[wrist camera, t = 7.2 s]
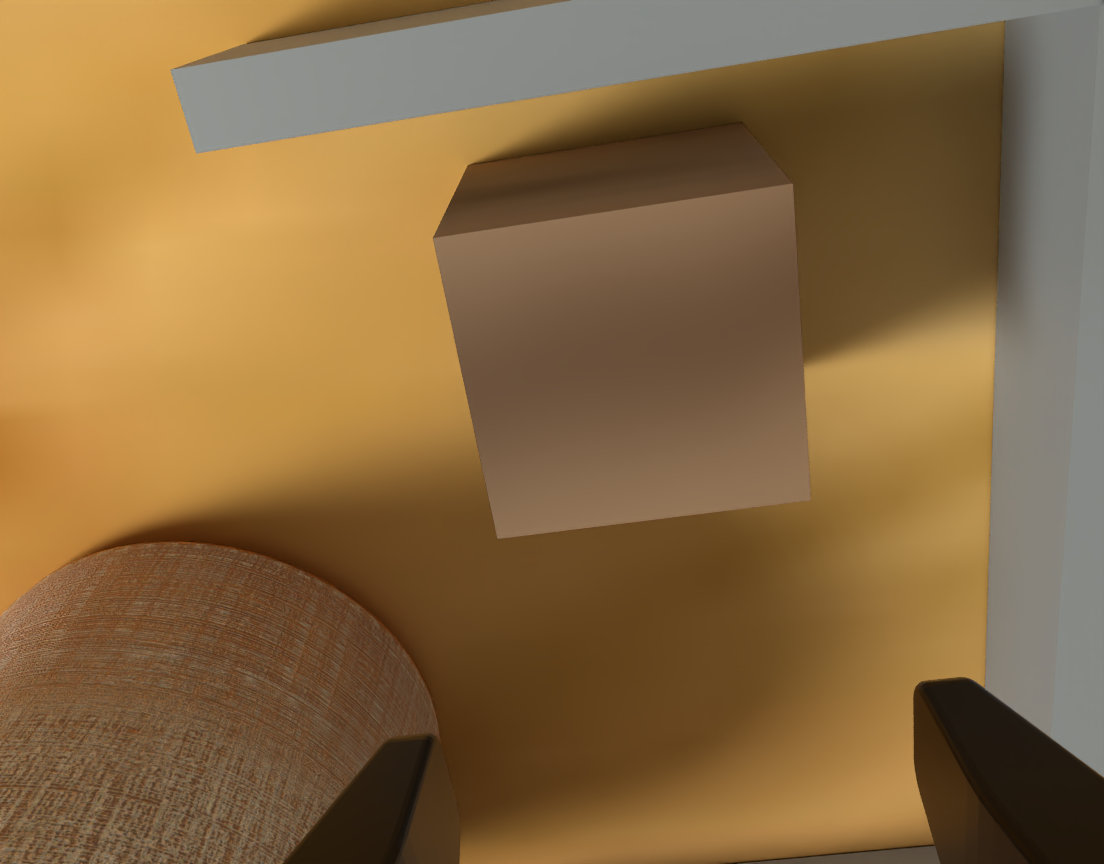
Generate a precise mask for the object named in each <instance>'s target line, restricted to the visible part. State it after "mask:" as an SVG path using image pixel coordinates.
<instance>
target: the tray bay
mask: <svg viewBox="0 0 1104 864" xmlns="http://www.w3.org/2000/svg"><path fill="white" fill-rule="evenodd" d="M999 21H1005V45H1004V78H1003V111H1002V144H1001V177H1000V210H999V243H998V276H997V309H996V343H995V376H994V409H993V442H992V475H991V508H990V541H989V574H988V607H987V640H986V673H985V689H986V690H987V691H989V692H990V693H991V694H993V695H994V696H995V697H997V698H998V699H999V700H1001V701H1002V702H1004V703H1005V704H1006V705H1008V706H1009V707H1010V708H1012V709H1013V710H1014V711H1016V712H1017V713H1018V714H1020V715H1021V716H1022V717H1024V718H1025V719H1026V720H1028V721H1029V722H1030V723H1032V724H1033V725H1034V726H1036V727H1037V728H1038V729H1040V730H1041V731H1042V732H1044V733H1045V734H1046V735H1048V736H1049V737H1050V738H1052V739H1053V740H1054V741H1056V742H1057V743H1058V744H1060V745H1061V746H1062V747H1064V748H1065V749H1067V750H1068V751H1069V752H1071V753H1072V754H1073V755H1075V756H1076V757H1077V758H1079V759H1080V760H1081V761H1083V762H1084V763H1085V764H1087V765H1088V766H1089V767H1091V768H1092V769H1093V770H1095V771H1096V772H1097V773H1099V774H1100V775H1101V776H1103V777H1104V0H496V1H490V2H484V3H479V4H473V5H467V6H461V7H456V8H450V9H444V10H439V11H433V12H427V13H421V14H416V15H410V16H404V17H398V18H393V19H387V20H381V21H375V22H370V23H364V24H358V25H352V26H347V27H341V28H335V29H329V30H324V31H318V32H312V33H307V34H301V35H295V36H289V37H284V38H278V39H272V40H266V41H261V42H255V43H249V44H243V45H240V46H237V47H234V48H232V49H229V50H226V51H223V52H220V53H217V54H214V55H212V56H209V57H206V58H203V59H200V60H197V61H194V62H191V63H189V64H186V65H183V66H180V67H177V68H174V69H171V73H172V76H173V80H174V83H175V86H176V89H177V93H178V96H179V99H180V102H181V105H182V109H183V112H184V115H185V118H186V122H187V125H188V128H189V131H190V135H191V138H192V141H193V144H194V148H195V151H196V153H202V152H208V151H215V150H221V149H227V148H233V147H239V146H245V145H251V144H257V143H263V142H269V141H275V140H281V139H287V138H294V137H300V136H306V135H312V134H318V133H324V132H330V131H336V130H342V129H348V128H354V127H360V126H366V125H373V124H379V123H385V122H391V121H397V120H403V119H409V118H415V117H421V116H427V115H433V114H439V113H446V112H452V111H458V110H464V109H470V108H476V107H482V106H488V105H494V104H500V103H506V102H512V101H518V100H525V99H531V98H537V97H543V96H549V95H555V94H561V93H567V92H573V91H579V90H585V89H591V88H598V87H604V86H610V85H616V84H622V83H628V82H634V81H640V80H646V79H652V78H658V77H664V76H670V75H677V74H683V73H689V72H695V71H701V70H707V69H713V68H719V67H725V66H731V65H737V64H743V63H750V62H756V61H762V60H768V59H774V58H780V57H786V56H792V55H798V54H804V53H810V52H816V51H822V50H829V49H835V48H841V47H847V46H853V45H859V44H865V43H871V42H877V41H883V40H889V39H895V38H901V37H908V36H914V35H920V34H926V33H932V32H938V31H944V30H950V29H956V28H962V27H968V26H974V25H981V24H987V23H993V22H999ZM739 864H940V861H939V858H938V854H937V851H936V847H935V846H926V847H915V848H904V849H893V850H882V851H871V852H860V853H849V854H838V855H827V856H816V857H805V858H794V859H783V860H772V861H761V862H750V863H739Z"/></svg>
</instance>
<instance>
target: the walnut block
mask: <svg viewBox="0 0 1104 864" xmlns="http://www.w3.org/2000/svg"><path fill="white" fill-rule="evenodd" d="M433 241H434V245H435V250H436V255H437V259H438V264H439V269H440V273H441V278H442V283H443V287H444V292H445V297H446V301H447V306H448V311H449V315H450V320H451V325H452V329H453V334H454V339H455V343H456V348H457V353H458V357H459V362H460V367H461V371H462V376H463V381H464V385H465V390H466V395H467V399H468V404H469V409H470V413H471V418H472V423H473V427H474V432H475V437H476V441H477V446H478V451H479V455H480V460H481V465H482V469H483V474H484V479H485V483H486V488H487V493H488V497H489V502H490V507H491V511H492V516H493V521H494V525H495V530H496V535H497V539H502V538H510V537H518V536H526V535H534V534H542V533H550V532H558V531H567V530H575V529H583V528H591V527H599V526H607V525H615V524H623V523H632V522H640V521H648V520H656V519H664V518H672V517H680V516H688V515H697V514H705V513H713V512H721V511H729V510H737V509H745V508H753V507H761V506H770V505H778V504H786V503H794V502H802V501H810V500H811V492H810V475H809V457H808V439H807V422H806V404H805V387H804V369H803V351H802V334H801V316H800V298H799V281H798V263H797V245H796V228H795V210H794V193H793V183H792V182H791V181H790V179H789V178H788V177H787V176H786V175H785V173H784V172H783V171H782V170H781V169H780V167H779V166H778V165H777V164H776V163H775V161H774V160H773V159H772V158H771V156H770V155H769V154H768V153H767V152H766V150H765V149H764V148H763V147H762V146H761V144H760V143H759V142H758V141H757V140H756V138H755V137H754V136H753V135H752V134H751V132H750V131H749V130H748V129H747V128H746V126H745V125H744V124H743V123H742V122H740V123H734V124H727V125H721V126H715V127H708V128H702V129H696V130H689V131H683V132H677V133H670V134H664V135H658V136H651V137H645V138H639V139H632V140H626V141H619V142H613V143H607V144H600V145H594V146H588V147H581V148H575V149H569V150H562V151H556V152H550V153H543V154H537V155H531V156H524V157H518V158H511V159H505V160H499V161H492V162H486V163H480V164H473V165H468V166H467V168H466V170H465V172H464V174H463V176H462V179H461V181H460V183H459V185H458V187H457V189H456V191H455V193H454V195H453V197H452V199H451V201H450V204H449V206H448V208H447V210H446V212H445V214H444V216H443V218H442V220H441V222H440V224H439V227H438V229H437V231H436V233H435V235H434V237H433Z"/></svg>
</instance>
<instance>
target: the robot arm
mask: <svg viewBox="0 0 1104 864" xmlns="http://www.w3.org/2000/svg"><path fill="white" fill-rule="evenodd" d="M913 714H914V766H915V773H916V779H917V783H918V788H919V792H920V795H921V799H922V802H923V806H924V809H925V813H926V816H927V819H928V823H929V826H930V830H931V833H932V837H933V840H934V844H935V847H936V851H937V854H938V858H939V861H940V864H1104V777H1103V776H1101V775H1100V774H1099V773H1097V772H1096V771H1095V770H1093V769H1092V768H1091V767H1089V766H1088V765H1087V764H1085V763H1084V762H1083V761H1081V760H1080V759H1079V758H1077V757H1076V756H1075V755H1073V754H1072V753H1071V752H1069V751H1068V750H1067V749H1065V748H1064V747H1062V746H1061V745H1060V744H1058V743H1057V742H1056V741H1054V740H1053V739H1052V738H1050V737H1049V736H1048V735H1046V734H1045V733H1044V732H1042V731H1041V730H1040V729H1038V728H1037V727H1036V726H1034V725H1033V724H1032V723H1030V722H1029V721H1028V720H1026V719H1025V718H1024V717H1022V716H1021V715H1020V714H1018V713H1017V712H1016V711H1014V710H1013V709H1012V708H1010V707H1009V706H1008V705H1006V704H1005V703H1004V702H1002V701H1001V700H999V699H998V698H997V697H995V696H994V695H993V694H991V693H990V692H989V691H987V690H986V689H985V688H983V687H982V686H981V685H979V684H978V683H977V682H975V681H973V680H971V679H969V678H965V677H957V678H947V679H938V680H928V681H922V682H920V683H919V684H918V685H917V686H916V688H915V691H914V697H913ZM459 858H460V817H459V809H458V804H457V800H456V796H455V792H454V789H453V785H452V781H451V778H450V774H449V770H448V767H447V763H446V759H445V756H444V752H443V748H442V745H441V743H440V741H439V739H438V738H437V736H435V735H433V734H431V733H423V734H414V735H404V736H395V737H392V738H389V739H388V740H386V741H385V742H384V743H383V744H382V745H381V746H380V747H379V748H378V749H377V751H376V752H375V753H374V754H373V755H372V757H371V758H370V759H369V760H368V761H367V763H366V764H365V765H364V766H363V767H362V768H361V770H360V771H359V772H358V773H357V774H356V776H355V777H354V778H353V779H352V780H351V782H350V783H349V784H348V785H347V786H346V788H345V789H344V790H343V791H342V792H341V794H340V795H339V796H338V797H337V798H336V800H335V801H334V802H333V803H332V804H331V806H330V807H329V808H328V809H327V810H326V812H325V813H324V814H323V815H322V816H321V818H320V819H319V820H318V821H317V822H316V824H315V825H314V826H313V827H312V828H311V830H310V831H309V832H308V833H307V834H306V835H305V837H304V838H303V839H302V840H301V841H300V843H299V844H298V845H297V846H296V847H295V849H294V850H293V851H292V852H291V853H290V855H289V856H288V857H287V858H286V859H285V861H284V862H283V863H282V864H459Z"/></svg>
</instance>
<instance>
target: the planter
mask: <svg viewBox="0 0 1104 864" xmlns="http://www.w3.org/2000/svg"><path fill="white" fill-rule="evenodd" d="M423 733H431V734H433V735H435V736H437V738H438V739H439V741H440V734H439V727H438V720H437V716H436V711H435V707H434V704H433V701H432V698H431V695H430V692H429V690H428V688H427V686H426V683H425V681H424V679H423V677H422V675H421V674H420V672H419V670H418V668H417V666H416V665H415V663H414V662H413V660H412V659H411V657H410V656H409V654H408V653H407V651H406V650H405V649H404V647H403V646H402V645H401V643H400V642H399V641H398V640H397V638H396V637H395V636H394V635H393V634H392V633H391V632H390V631H389V630H388V629H387V628H386V627H385V626H384V625H383V624H382V623H381V622H380V621H379V620H378V619H377V618H376V617H375V616H374V615H373V614H371V613H370V612H369V611H368V610H367V609H365V608H364V607H363V606H362V605H361V604H359V603H358V602H357V601H355V600H354V599H353V598H351V597H350V596H348V595H347V594H346V593H344V592H343V591H341V590H339V589H338V588H336V587H335V586H333V585H331V584H330V583H328V582H326V581H324V580H322V579H320V578H319V577H317V576H315V575H313V574H311V573H309V572H307V571H304V570H302V569H300V568H298V567H296V566H293V565H291V564H289V563H286V562H283V561H281V560H278V559H275V558H273V557H270V556H266V555H263V554H259V553H256V552H252V551H248V550H244V549H239V548H235V547H230V546H224V545H218V544H212V543H203V542H191V541H161V542H147V543H137V544H131V545H125V546H119V547H115V548H111V549H107V550H103V551H100V552H97V553H94V554H91V555H88V556H85V557H83V558H81V559H78V560H76V561H73V562H71V563H69V564H67V565H65V566H63V567H61V568H59V569H58V570H56V571H54V572H52V573H51V574H50V575H48V576H47V577H45V578H44V579H42V580H41V581H40V582H38V583H37V584H36V585H35V586H33V587H32V588H31V589H30V590H29V591H27V592H26V593H25V594H24V595H22V596H21V597H20V598H19V599H18V600H16V601H15V602H14V603H13V604H12V605H11V606H10V607H9V608H8V609H7V610H6V611H5V612H4V613H3V614H2V615H1V617H0V864H282V863H283V862H284V861H285V859H286V858H287V857H288V856H289V855H290V853H291V852H292V851H293V850H294V849H295V847H296V846H297V845H298V844H299V843H300V841H301V840H302V839H303V838H304V837H305V835H306V834H307V833H308V832H309V831H310V830H311V828H312V827H313V826H314V825H315V824H316V822H317V821H318V820H319V819H320V818H321V816H322V815H323V814H324V813H325V812H326V810H327V809H328V808H329V807H330V806H331V804H332V803H333V802H334V801H335V800H336V798H337V797H338V796H339V795H340V794H341V792H342V791H343V790H344V789H345V788H346V786H347V785H348V784H349V783H350V782H351V780H352V779H353V778H354V777H355V776H356V774H357V773H358V772H359V771H360V770H361V768H362V767H363V766H364V765H365V764H366V763H367V761H368V760H369V759H370V758H371V757H372V755H373V754H374V753H375V752H376V751H377V749H378V748H379V747H380V746H381V745H382V744H383V743H384V742H385V741H386V740H388V739H389V738H392V737H395V736H404V735H414V734H423Z"/></svg>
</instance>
